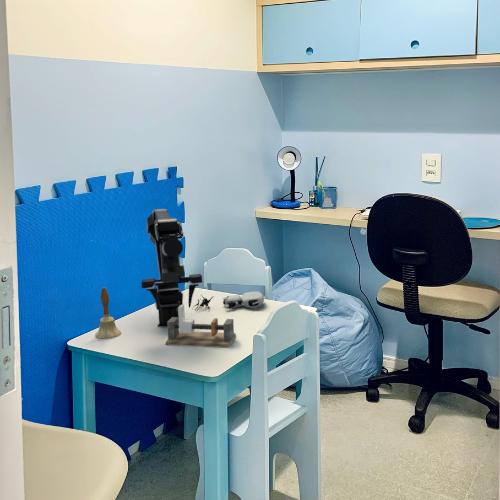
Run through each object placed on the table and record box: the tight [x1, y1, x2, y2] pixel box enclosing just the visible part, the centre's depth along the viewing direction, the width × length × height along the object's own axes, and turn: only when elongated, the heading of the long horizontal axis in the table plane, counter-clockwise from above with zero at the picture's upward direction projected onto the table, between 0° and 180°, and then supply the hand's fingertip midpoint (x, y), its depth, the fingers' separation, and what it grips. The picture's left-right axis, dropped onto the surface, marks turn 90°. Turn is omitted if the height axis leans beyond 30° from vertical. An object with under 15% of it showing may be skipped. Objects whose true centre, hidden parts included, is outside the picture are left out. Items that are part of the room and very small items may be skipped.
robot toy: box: [222, 290, 265, 309], centre depth 237 cm, size 12×4×15 cm
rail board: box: [165, 317, 237, 348], centre depth 202 cm, size 20×10×7 cm, turn 79°
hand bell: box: [94, 286, 122, 340], centre depth 210 cm, size 8×8×16 cm
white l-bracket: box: [178, 304, 196, 334], centre depth 202 cm, size 4×4×8 cm
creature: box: [191, 294, 215, 313], centre depth 234 cm, size 8×5×8 cm
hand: (174, 308), depth 201 cm, fingers open, 9 cm apart
